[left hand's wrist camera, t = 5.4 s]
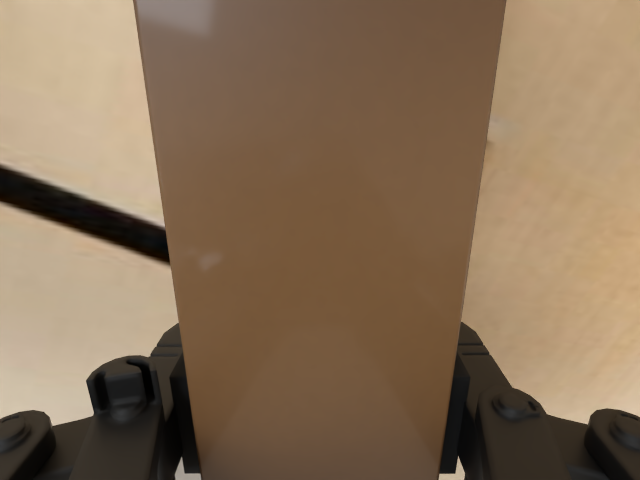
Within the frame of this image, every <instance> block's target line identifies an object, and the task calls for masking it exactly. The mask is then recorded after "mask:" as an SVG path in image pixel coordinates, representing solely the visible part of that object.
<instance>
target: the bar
mask: <svg viewBox="0 0 640 480" xmlns="http://www.w3.org/2000/svg"><path fill="white" fill-rule="evenodd" d="M133 3H134V10H135V17H136V24H137V31H138V38H139V45H140V52H141V59H142V66H143V73H144V80H145V87H146V94H147V101H148V108H149V115H150V122H151V130H152V137H153V144H154V151H155V158H156V165H157V172H158V179H159V186H160V193H161V200H162V207H163V214H164V221H165V228H166V235H167V242H168V249H169V256H170V263H171V270H172V277H173V285H174V292H175V299H176V306H177V313H178V320H179V327H180V334H181V341H182V348H183V355H184V362H185V369H186V376H187V383H188V390H189V397H190V404H191V411H192V418H193V425H194V432H195V440H196V447H197V454H198V461H199V468H200V475H201V480H438V479H439V472H440V465H441V458H442V451H443V443H444V436H445V429H446V422H447V415H448V408H449V401H450V394H451V387H452V380H453V373H454V366H455V359H456V352H457V345H458V338H459V331H460V323H461V316H462V309H463V302H464V295H465V288H466V281H467V274H468V267H469V260H470V253H471V246H472V239H473V232H474V225H475V218H476V210H477V203H478V196H479V189H480V182H481V175H482V168H483V161H484V154H485V147H486V140H487V133H488V126H489V119H490V112H491V105H492V97H493V90H494V83H495V76H496V69H497V62H498V55H499V48H500V41H501V34H502V27H503V20H504V13H505V6H506V0H133Z"/></svg>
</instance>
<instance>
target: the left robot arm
mask: <svg viewBox="0 0 640 480" xmlns="http://www.w3.org/2000/svg"><path fill="white" fill-rule="evenodd" d="M86 382H87V386H88V390H89V394H90V398H91V402H92V406H93V410H94V415H93V416H91V417H88V418H85V419H81V420H77V421H73V422H68V423H64V424H60V425H56V426H52V424H51V421H50V417H49V416H48V415H46V414H45V413H44V412H41V411H35V410H31V411H23V412H18V413H15V414H12V415H9V416H6V417H3V418H2V419H0V480H176V478H175V473H176V470H177V468H178V465H179V462H180V460H181V457H182V461H183V467H184V473H185V474H200V468H199V461H198V454H197V447H196V440H195V432H194V425H193V418H192V411H191V404H190V397H189V390H188V383H187V376H186V369H185V362H184V355H183V348H182V341H181V334H180V327H179V323H177V324H176V325H175V326H173V327H172V328H171V329H169V330H168V331H167V332H165V333H164V334H163V336H162V338H161V339H160V341H159V342H158V344H157V347H155V348H154V350H153V351H152V353H151V356H150V357H144V356H141V355H139V356H126V357H121V358H117V359H114V360H112V361H110V362H107V363H105V364H103V365H102V366H100V367H99V368H97V369H96V370H95V371H93V372H92V373H91V375H90V376H89V377H88V379H87V380H86ZM458 456H459V459H460V461H461V464H462V466H463V469H464V472H465V478H464V480H640V417H638V416H636V415H633V414H631V413H627V412H624V411H622V410H615V409H601V410H596V411H595V412H594V413H593V414H592V415H591V416H590V419H589V423H588V425H587V424H583V423H579V422H574V421H570V420H566V419H561V418H557V417H554V416H551V415H547V414H546V412H545V411H544V409H543V408H542V406H541V404H540V403H539V402H537V401H536V400H535V399H534V398H533V397H531V396H530V395H528V394H526V393H524V392H522V391H520V390H518V389H515V388H512V387H511V385H510V383H509V382H508V380H507V379H506V377H505V376H504V374H503V373H502V371H501V370H500V368H499V367H498V365H497V364H496V362H495V361H494V359H493V358H492V356H491V355H489V352H488V350H487V349H486V347H485V346H483V342H482V341H481V339H480V338H479V336H478V335H477V333H476V332H475V331H474V330H472V329H471V328H470V327H468V326H467V325H466V324H464V323H463V322H461V323H460V331H459V338H458V345H457V352H456V359H455V366H454V373H453V380H452V387H451V394H450V401H449V408H448V415H447V422H446V429H445V436H444V443H443V451H442V458H441V465H440V472H439V474H455V472H456V465H457V459H458Z"/></svg>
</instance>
